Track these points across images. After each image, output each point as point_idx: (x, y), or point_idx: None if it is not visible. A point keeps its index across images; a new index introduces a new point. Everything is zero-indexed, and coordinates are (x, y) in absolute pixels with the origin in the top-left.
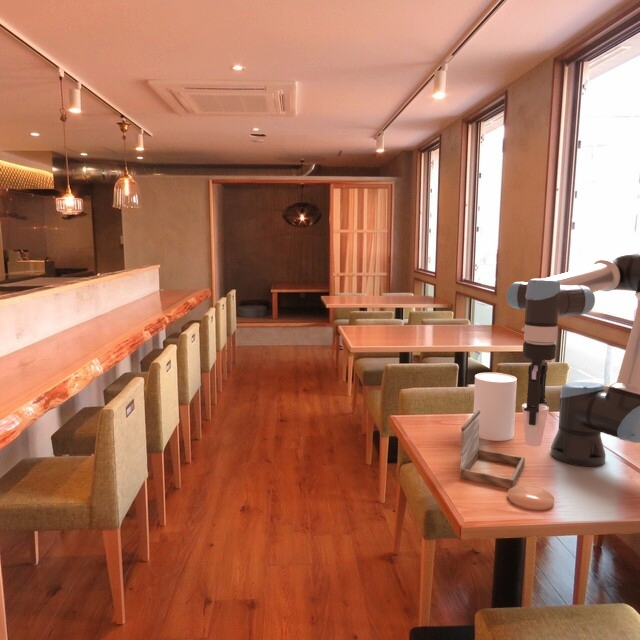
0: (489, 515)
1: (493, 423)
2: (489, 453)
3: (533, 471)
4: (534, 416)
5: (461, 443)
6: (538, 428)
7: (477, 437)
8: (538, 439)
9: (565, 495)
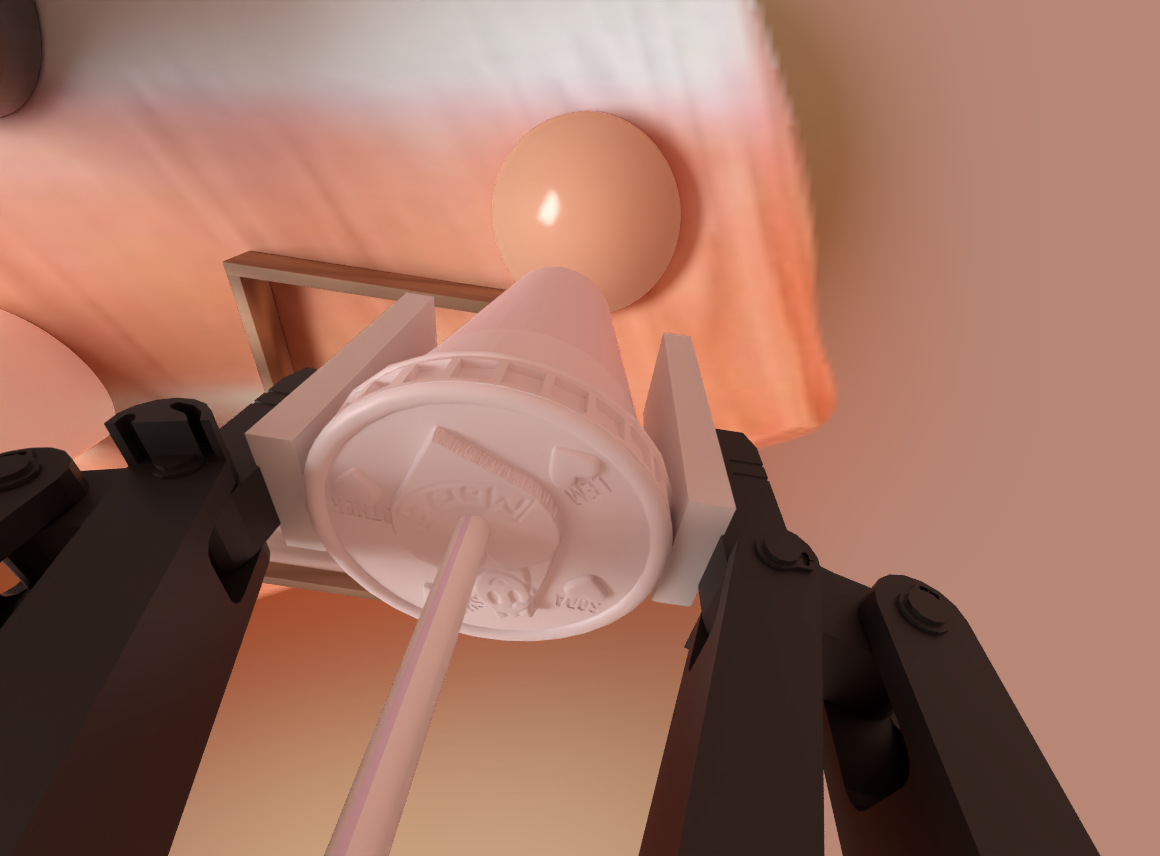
0: (760, 361)
1: (22, 418)
2: None
3: (284, 209)
4: (778, 519)
5: None
6: (676, 373)
7: None
8: (606, 310)
9: (465, 42)
